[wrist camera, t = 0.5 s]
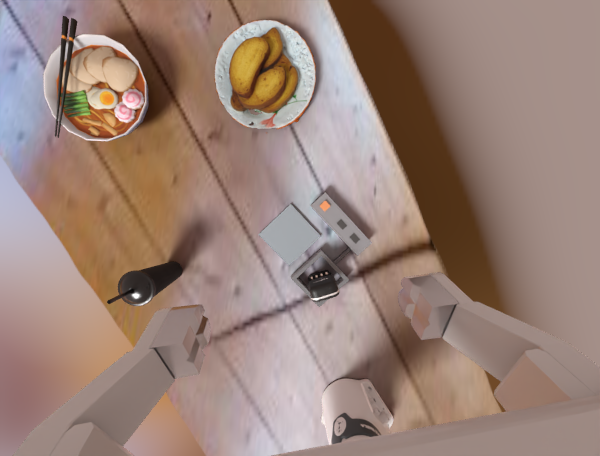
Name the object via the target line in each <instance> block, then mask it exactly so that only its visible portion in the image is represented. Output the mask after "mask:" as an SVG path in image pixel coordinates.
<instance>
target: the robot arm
mask: <svg viewBox="0 0 600 456" xmlns="http://www.w3.org/2000/svg"><path fill="white" fill-rule="evenodd" d="M401 285H402V287H403V289H402V290H401V291H400V292H399V295H398V302H399V306H400V308H401V310H402V312H403V314H404V315H405V316H407V317H408V318H410V319H411V326H412V327H413V329H414V330H415V332H416V333H417V335H418V336H419V338H420V339H421V340H425V339H433V338H441V337H443V338H442V339H444V340H445V341H446V342H448V343H449V344H450V345H452V346H453V347H454V348H456V349H457V350H459V351H460V352H461V353H463V354H464V355H465V356H467V357H468V358H469V359H471V360H472V361H474V362H475V363H476V364H478V365H479V366H480V367H482V368H483V369H485V370H486V371H487V372H489V373H490V374H491V375H493V376H494V377H495V378H497V379H498V380H500V381H501V383H500V384H499V386H498V387H497V388H496V390H495V392H494V396H495V397H496V398H497V399H498V401H499V402H500V403H501V404H502V406H503V407H504V409H505V410H506V411H507V412H503V413H497V414H492V415H486V416H481V417H476V418H470V419H465V420H460V421H454V422H449V423H444V424H438V425H433V426H427V427H422V428H417V429H411V430H406V431H401V432H395V433H391V432H390V427H391V425H392V423H393V420H394V419H393V416H392V414H391V412H390V411H389V409H388V408H387V406H386V405H385V403H384V401H383V400H382V398H381V397H380V395H379V394H378V392H377V391H376V389H375V388H374V386H373V384H372V383H371V381H370V380H369V379H362V380H354V379H340V380H337V381H335V382H333V383H331V384H330V385H329V386H328V387H327V388H326V390H325V391H324V393H323V396H322V409H323V412H322V415H321V421H322V424H323V425H325V427H326V432H327V436H328V441H329V445H326V446H320V447H315V448H309V449H304V450H299V451H293V452H288V453H283V454H277V455H272V456H600V367H599V366H598V365H597V364H595V363H594V362H593V361H592V360H590V359H589V358H587V357H586V356H585V355H584V354H582V353H581V352H580V351H579V350H577V349H576V348H575V347H573V346H572V345H571V344H570V343H568V342H566V341H564V340H561V339H559V338H557V337H555V336H553V335H551V334H548V333H546V332H544V331H542V330H539V329H537V328H535V327H533V326H531V325H528V324H526V323H524V322H522V321H520V320H517V319H515V318H513V317H510V316H508V315H506V314H504V313H502V312H500V311H497V310H495V309H493V308H491V307H488V306H486V305H484V304H482V303H479V302H473V301H472V300H471V299H470V298H469V297H468V296H467V295H466V294H465V293H464V292H462V291H461V290H460V289H459V288H458V287H457V286H456V285H455V284H454V283H453V282H452V281H451V280H449V279H448V278H447V277H446V276H445V275H444V274H442V273H440V272H437V273H430V274H423V275H416V276H409V277H404V278H403V279H402V281H401ZM204 311H205V310H204V308H203V306H202V305H190V306H181V307H173V308H164V309H159V310H158V311H156V312H155V314H154V315H153V317H152V319H151V320H150V322H149V324H148V325H147V327H146V329H145V330H144V332H143V334H142V335H141V337H140V339H139V341H138V342H137V344H136V346H135V347H134V349H133V351H131V352H127V353H126V354H125V355H124V356H122V357H121V358H120V359H118V360H117V361H116V362H115V363H114V364H112V365H111V366H110V367H109V368H108V369H106V370H105V371H104V372H103V373H101V374H100V375H99V376H98V377H97V378H96V379H94V380H93V381H92V382H90V383H89V384H88V385H87V386H85V387H84V388H83V389H82V390H81V391H80V392H78V393H77V394H76V395H75V396H73V397H72V398H71V399H70V400H68V401H67V402H66V403H65V404H64V405H62V406H61V407H60V408H59V409H57V410H56V411H55V412H54V413H53V414H51V415H50V416H49V417H48V418H47V419H45V420H44V421H43V422H42V423H40V424H39V425H38V426H37V427H36V428H34V429H33V430H32V431H31V433H30V434H29V435H28V437H27V438H26V439H25V440H24V442H23V443H22V445H21V446H20V447H19V448H18V450H17V451H16V452H15V454H14V455H13V456H134V455H133V454H132V453H130V452H129V451H128V450H127V449H125V448H124V447H123V446H124V444H125V443H126V442H127V441H128V439H129V438H130V437H131V436H132V434H133V433H134V432H135V430H136V429H137V428H138V427H139V425H140V424H141V423H142V422H143V420H144V419H145V418H146V416H147V415H148V414H149V413H150V411H151V410H152V409H153V407H154V406H155V405H156V404H157V402H158V401H159V400H160V399H161V397H162V396H163V395H164V393H165V392H166V391H167V390H168V388H169V387H170V386H171V385H172V383H173V382H174V381H175V380H174V379H177V378H182V377H188V376H193V375H199V374H200V370H201V367H202V363H203V360H204V356H205V355H204V353H203V351H202V350H203V349H204V348H205V346H206V345H207V344H208V342H209V338H210V323H209V320H208V318H206V317H205V316H203V314H204Z"/></svg>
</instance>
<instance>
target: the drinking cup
mask: <svg viewBox="0 0 600 456" xmlns="http://www.w3.org/2000/svg"><path fill="white" fill-rule="evenodd" d="M181 274H182V267H181V265H180V264H179V263H177V262H169V263H165V264H161V265H158V266H154V267H150V268H146V269H143V270H139V271H131V272H128V273H126V274H124V275H123V276H122V277H121V279H120V281H119V283H118V292H119V295H118V296H116V297H114V298H112V299H110V300H108V301H107V303H108V304H110V303H112V302H114V301H116V300H118V299H120V298H122V299H123V300H124V301H125V302H126V303H128V304H130V305H133V306H142V305H145V304H147V303H148V302H150V301H151V300H152V298H153V297H154V296H155V295H157V294H158V293H159V292H161V291H162V290H163V289H164V288H166V287H167V286H168V285H170V284H171V283H172V282H173V281H175V280H176V279H177V278H179V277H180V276H181Z"/></svg>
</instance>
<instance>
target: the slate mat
mask: <svg viewBox="0 0 600 456" xmlns="http://www.w3.org/2000/svg"><path fill="white" fill-rule="evenodd" d="M259 236H260V237H261V238H262V239H263V240H264V241H265V242H266V243H267V244H268V245H269V246H270V247H271V248H272V249H273V250H274V251H275V252H276V253H277V254H278V255H279V256H280V257H281V258H282V259H283V260H284V261H285V262H286V263H287V264H288V265H289V266H290V265H291V264H292V263H293V262H294V261H295V260H296V259H297V258H298V257H299V256H300V255H302V254H303V253H304V252H305V251H306V250H307V249H308V248H309V247H310V246H311V245H312V244H313V243H314V242H316V241H317V240H318V239H319V238H320V237H321V236H320V235H319V233H318V232H317V231H316V230H315V229H314V228H313V227H312V226H311V225H310V224H309V223H308V222H307V221H306V220H305V219H304V218H303V216H302V215H301V214H300V213H299V212H298V211H297V210H296V209H295V208H294V207H293V206H292V205H291V204H290V205H289V206H288V207H287V208H286V209H285V210H284V211H283V212H282V213H281V214H280V215H278V216H277V217H276V218H275V219H274V220H273V221H272V222H271V223H270V224H269V225H268V226H267V227H266V228H265V229H264V230H263V231H262V232H261V233H260V234H259Z"/></svg>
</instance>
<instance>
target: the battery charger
mask: <svg viewBox="0 0 600 456" xmlns="http://www.w3.org/2000/svg"><path fill="white" fill-rule="evenodd" d="M308 281H309V282H308V288H309V292H310V296H311V299H312V300H313V301H314V302H320V301H323V300H326V299H330V298H333V297H336V296H337V295H338V294H339V288H338V286H337V283H336V280H335V278H334V276H333V275H331V273H330V272H329V271H328V270H325V271H321V272H318V273H315V274H312V275H310V276H309V277H308Z"/></svg>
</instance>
